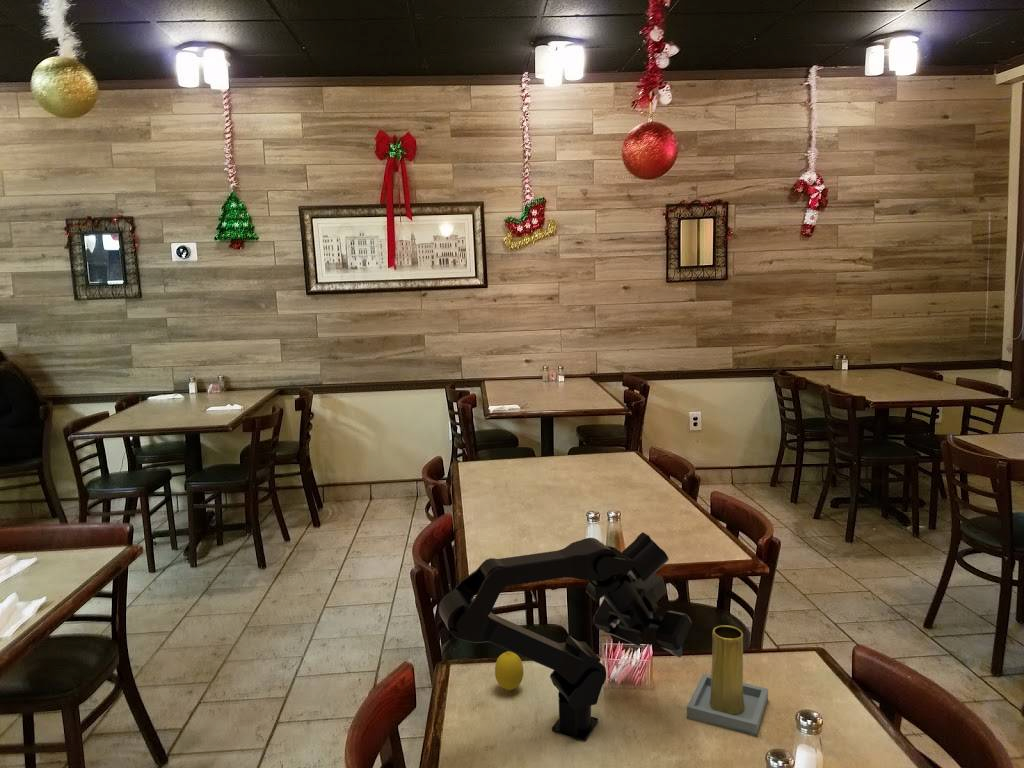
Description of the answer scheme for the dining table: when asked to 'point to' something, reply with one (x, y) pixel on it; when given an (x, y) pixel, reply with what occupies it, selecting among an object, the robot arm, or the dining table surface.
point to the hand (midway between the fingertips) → (659, 649)
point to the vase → (727, 670)
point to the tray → (739, 722)
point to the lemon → (509, 670)
